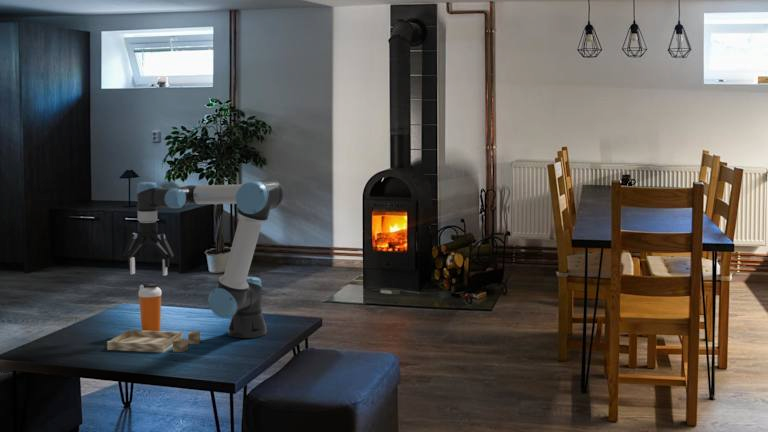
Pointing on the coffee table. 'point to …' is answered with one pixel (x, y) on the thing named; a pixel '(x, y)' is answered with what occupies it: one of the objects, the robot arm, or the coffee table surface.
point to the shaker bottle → (150, 307)
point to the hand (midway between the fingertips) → (148, 274)
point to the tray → (143, 341)
